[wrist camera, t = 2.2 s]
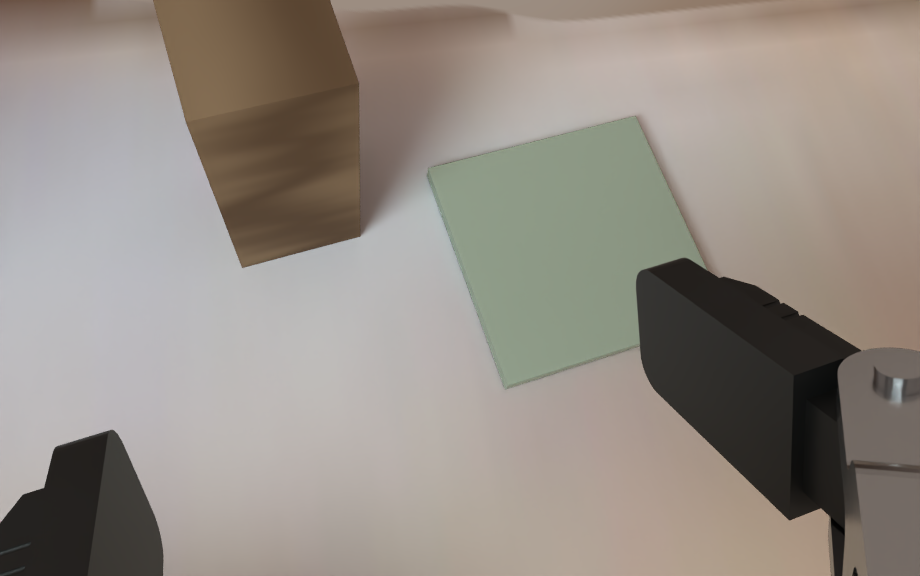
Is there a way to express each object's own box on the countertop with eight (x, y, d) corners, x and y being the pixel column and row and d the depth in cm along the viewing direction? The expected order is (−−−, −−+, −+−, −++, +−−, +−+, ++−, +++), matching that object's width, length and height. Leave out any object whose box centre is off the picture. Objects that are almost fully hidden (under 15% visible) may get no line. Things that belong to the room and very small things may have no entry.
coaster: (505, 389, 29) (507, 385, 28) (427, 175, 32) (428, 168, 31) (721, 319, 31) (728, 314, 30) (630, 123, 34) (635, 115, 33)
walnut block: (242, 267, 29) (185, 122, 20) (213, 163, 31) (148, -20, 21) (360, 236, 30) (358, 82, 21) (327, 136, 32) (312, -50, 22)
